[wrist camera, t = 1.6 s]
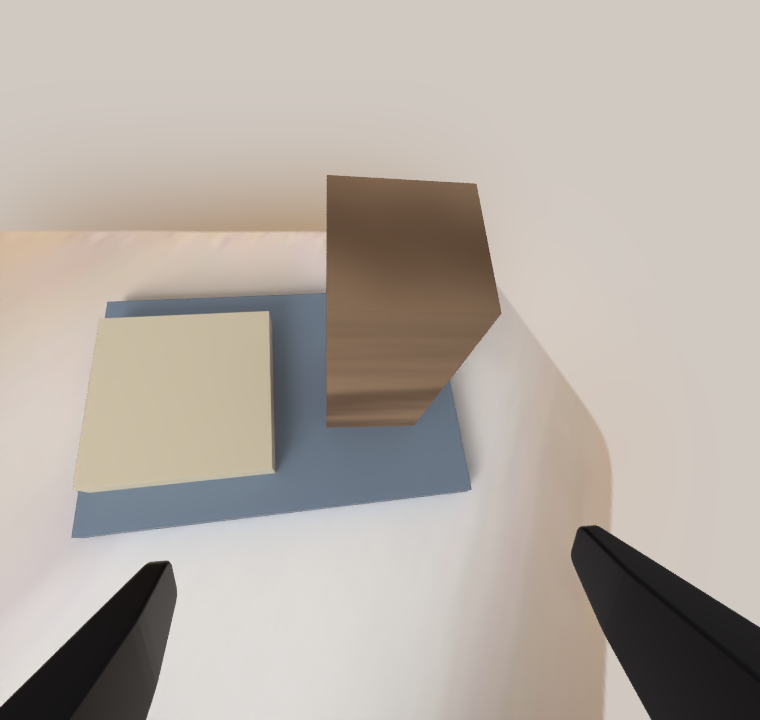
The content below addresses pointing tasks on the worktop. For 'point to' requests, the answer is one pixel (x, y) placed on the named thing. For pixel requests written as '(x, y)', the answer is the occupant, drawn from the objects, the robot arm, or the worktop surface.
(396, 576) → the worktop surface
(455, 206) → the walnut pillar
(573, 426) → the worktop surface
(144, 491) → the board
